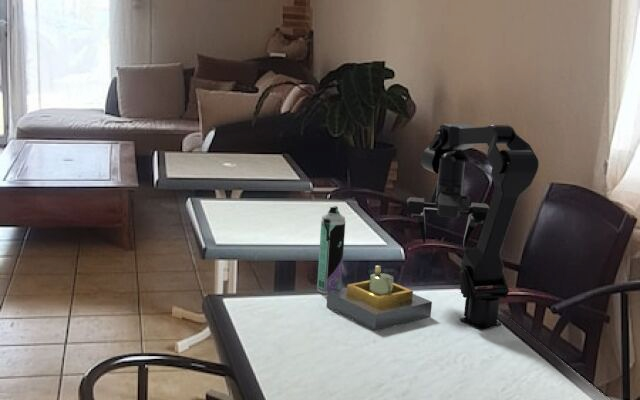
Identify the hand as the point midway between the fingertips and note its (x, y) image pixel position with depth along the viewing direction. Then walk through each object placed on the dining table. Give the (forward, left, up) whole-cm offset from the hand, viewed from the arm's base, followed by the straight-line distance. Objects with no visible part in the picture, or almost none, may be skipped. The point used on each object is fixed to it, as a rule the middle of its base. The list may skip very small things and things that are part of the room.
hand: (444, 244), depth 188 cm
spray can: (+14, +22, -12) cm, 29 cm away
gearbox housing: (-2, +21, -12) cm, 24 cm away
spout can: (-2, +21, -12) cm, 24 cm away
